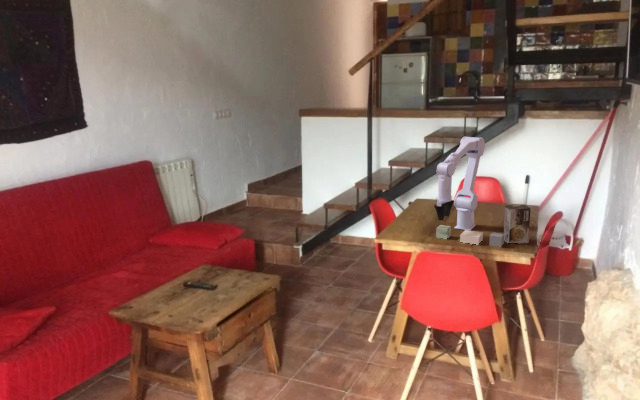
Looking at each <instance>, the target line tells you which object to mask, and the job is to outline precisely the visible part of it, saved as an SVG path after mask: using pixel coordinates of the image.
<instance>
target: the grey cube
mask: <svg viewBox="0 0 640 400" xmlns="http://www.w3.org/2000/svg"><path fill="white" fill-rule="evenodd" d="M504 235H505V234H504V233H503V232H494V231H492V232H491V234H489V243H488V246H489V245H491V246H490V247H492V246H499V247H501V246H502V245H503V244H505V241H504ZM503 246H504V245H503ZM503 246H502V247H503ZM499 247H498V248H499ZM502 247H501V248H502Z"/></svg>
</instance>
